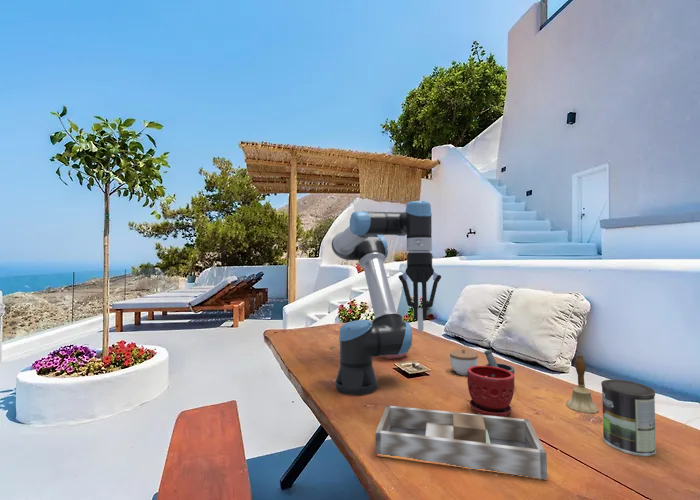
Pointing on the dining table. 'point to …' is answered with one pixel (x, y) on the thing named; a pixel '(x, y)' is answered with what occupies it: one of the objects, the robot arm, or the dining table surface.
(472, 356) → the lidded jar
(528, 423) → the box
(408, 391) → the dining table surface
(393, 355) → the cell model
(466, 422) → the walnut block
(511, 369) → the mortar and pestle
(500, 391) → the plant pot
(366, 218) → the robot arm
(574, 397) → the hand bell
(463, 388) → the dining table surface
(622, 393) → the coffee can
